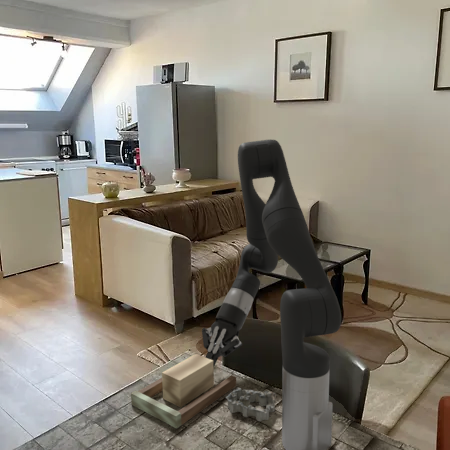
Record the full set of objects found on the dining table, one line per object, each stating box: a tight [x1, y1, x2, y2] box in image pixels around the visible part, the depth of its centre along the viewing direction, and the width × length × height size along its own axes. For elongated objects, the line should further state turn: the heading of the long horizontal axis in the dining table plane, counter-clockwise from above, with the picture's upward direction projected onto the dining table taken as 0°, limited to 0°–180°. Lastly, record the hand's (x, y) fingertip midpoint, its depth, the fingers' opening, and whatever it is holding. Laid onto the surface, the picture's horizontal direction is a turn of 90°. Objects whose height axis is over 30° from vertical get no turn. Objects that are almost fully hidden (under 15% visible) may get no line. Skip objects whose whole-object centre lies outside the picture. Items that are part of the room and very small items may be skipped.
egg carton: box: [225, 386, 277, 422], centre depth 106 cm, size 11×8×4 cm
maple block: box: [161, 353, 215, 408], centre depth 114 cm, size 6×12×7 cm, turn 141°
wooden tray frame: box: [130, 375, 237, 429], centre depth 113 cm, size 15×22×3 cm
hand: (206, 367), depth 118 cm, fingers closed
